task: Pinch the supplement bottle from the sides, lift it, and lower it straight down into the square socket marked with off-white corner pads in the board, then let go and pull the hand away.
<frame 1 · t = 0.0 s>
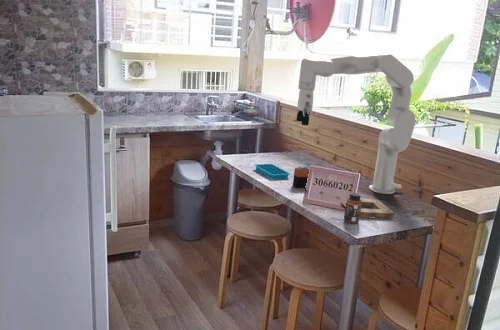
hand: (302, 123, 207), 31 cm above the table, tool pointing down, fingers open, 9 cm apart
supplement bottle: (351, 221, 176), on the table
ice cube tray: (271, 174, 234), on the table
socket board: (366, 210, 190), on the table
battery: (300, 187, 216), on the table
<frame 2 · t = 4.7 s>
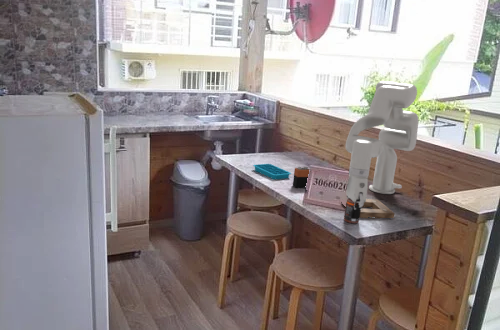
hand: (352, 215, 175), 3 cm above the table, tool pointing down, fingers closed on supplement bottle, 6 cm apart
supplement bottle: (351, 221, 176), on the table, touching gripper
when the fingers open (4 cm above the table, at t = 10.6 s): supplement bottle drops 1 cm, resting in socket board.
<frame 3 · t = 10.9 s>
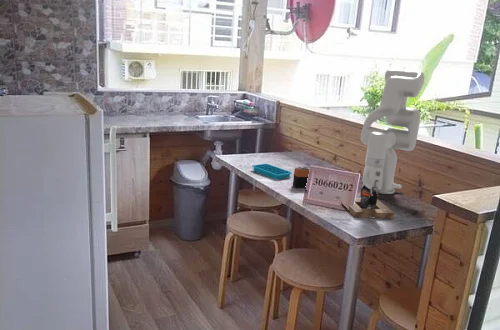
hand: (368, 200, 188), 5 cm above the table, tool pointing down, fingers open, 8 cm apart
supplement bottle: (366, 211, 190), resting in socket board
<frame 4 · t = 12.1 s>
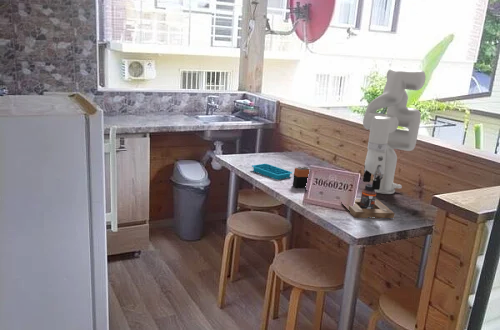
hand: (370, 185, 187), 11 cm above the table, tool pointing down, fingers open, 9 cm apart
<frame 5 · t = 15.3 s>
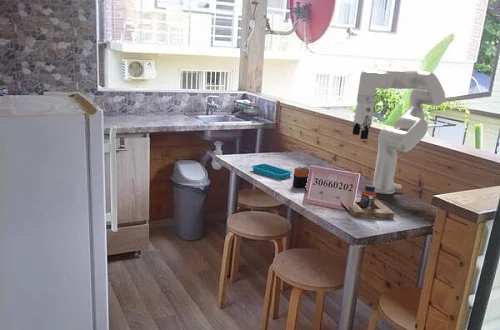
hand: (359, 136, 202), 28 cm above the table, tool pointing down, fingers open, 9 cm apart
at the end: supplement bottle 0.4 cm off-centre on the socket board, point 0.0 cm above the socket board's base; supplement bottle tilted 0°; the gripper is holding nothing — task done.
